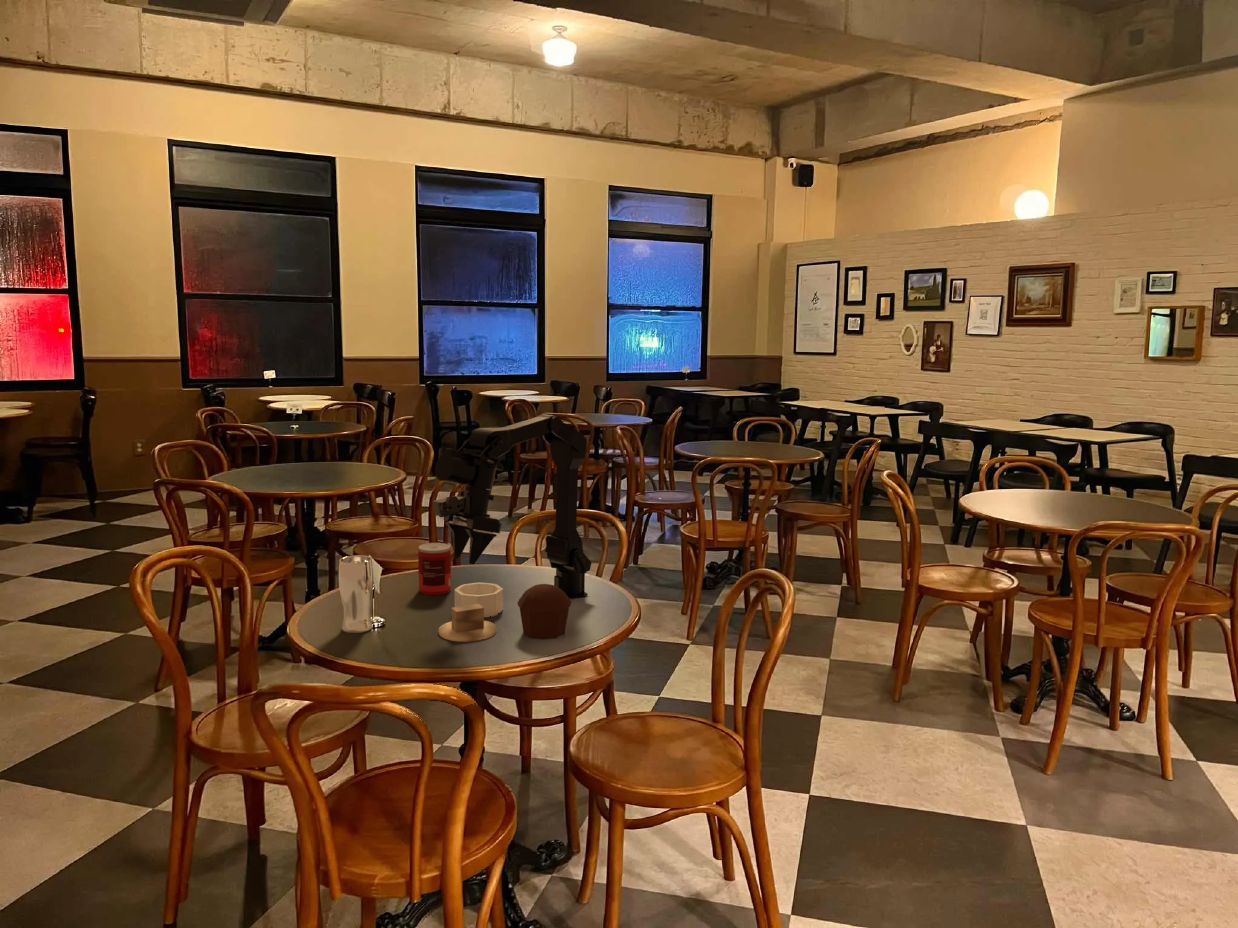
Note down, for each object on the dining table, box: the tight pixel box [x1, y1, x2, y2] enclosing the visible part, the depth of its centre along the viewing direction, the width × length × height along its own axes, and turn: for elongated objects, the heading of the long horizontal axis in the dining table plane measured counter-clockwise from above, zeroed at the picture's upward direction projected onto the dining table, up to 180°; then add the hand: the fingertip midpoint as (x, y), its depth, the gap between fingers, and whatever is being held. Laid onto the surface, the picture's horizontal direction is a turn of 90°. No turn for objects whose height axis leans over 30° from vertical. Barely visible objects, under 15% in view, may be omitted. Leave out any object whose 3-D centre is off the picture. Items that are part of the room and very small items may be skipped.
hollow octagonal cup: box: [454, 581, 504, 618], centre depth 198 cm, size 10×10×5 cm
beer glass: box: [338, 554, 374, 634], centre depth 184 cm, size 7×7×15 cm
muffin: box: [517, 583, 572, 640], centre depth 184 cm, size 12×11×10 cm
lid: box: [438, 604, 498, 643], centre depth 184 cm, size 12×12×6 cm
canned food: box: [417, 542, 452, 596], centre depth 212 cm, size 8×8×11 cm
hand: (463, 560), depth 184 cm, fingers open, 9 cm apart
